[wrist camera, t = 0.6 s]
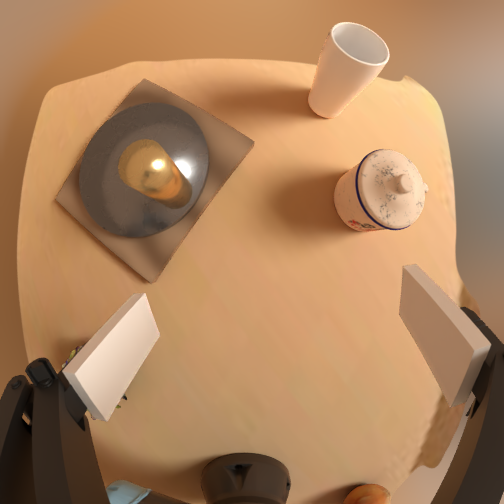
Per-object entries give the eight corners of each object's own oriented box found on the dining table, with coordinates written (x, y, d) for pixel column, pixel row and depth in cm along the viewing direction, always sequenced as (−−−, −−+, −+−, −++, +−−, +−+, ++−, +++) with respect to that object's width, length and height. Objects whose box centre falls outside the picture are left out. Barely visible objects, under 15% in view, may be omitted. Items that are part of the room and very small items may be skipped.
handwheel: (152, 266, 33) (101, 276, 19) (64, 190, 32) (2, 170, 19) (238, 148, 33) (236, 92, 19) (138, 89, 32) (103, 34, 19)
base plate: (155, 282, 35) (151, 283, 33) (60, 200, 34) (55, 199, 32) (253, 145, 35) (254, 141, 33) (146, 83, 34) (143, 78, 32)
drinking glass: (301, 82, 35) (326, 15, 20) (344, 90, 35) (384, 30, 20) (302, 120, 35) (333, 57, 20) (348, 127, 35) (396, 73, 20)
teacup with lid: (338, 238, 35) (378, 234, 24) (324, 171, 35) (358, 140, 23) (410, 225, 36) (462, 219, 24) (397, 165, 35) (444, 141, 24)
